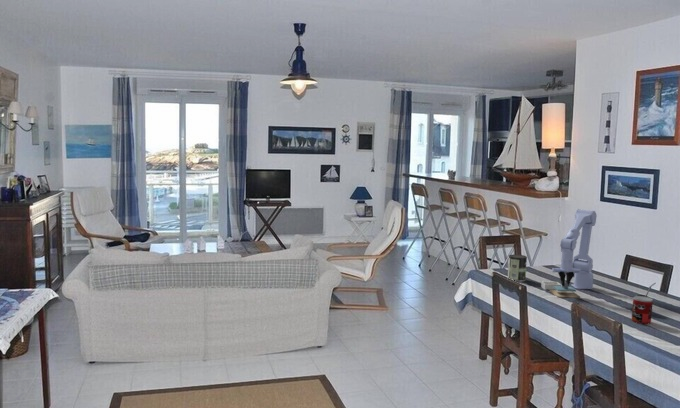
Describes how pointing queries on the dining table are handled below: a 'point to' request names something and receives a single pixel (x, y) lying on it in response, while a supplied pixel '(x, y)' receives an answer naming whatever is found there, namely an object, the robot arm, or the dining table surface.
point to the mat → (564, 294)
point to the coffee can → (517, 267)
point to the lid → (564, 288)
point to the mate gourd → (647, 292)
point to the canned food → (642, 309)
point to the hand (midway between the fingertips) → (565, 285)
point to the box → (549, 285)
